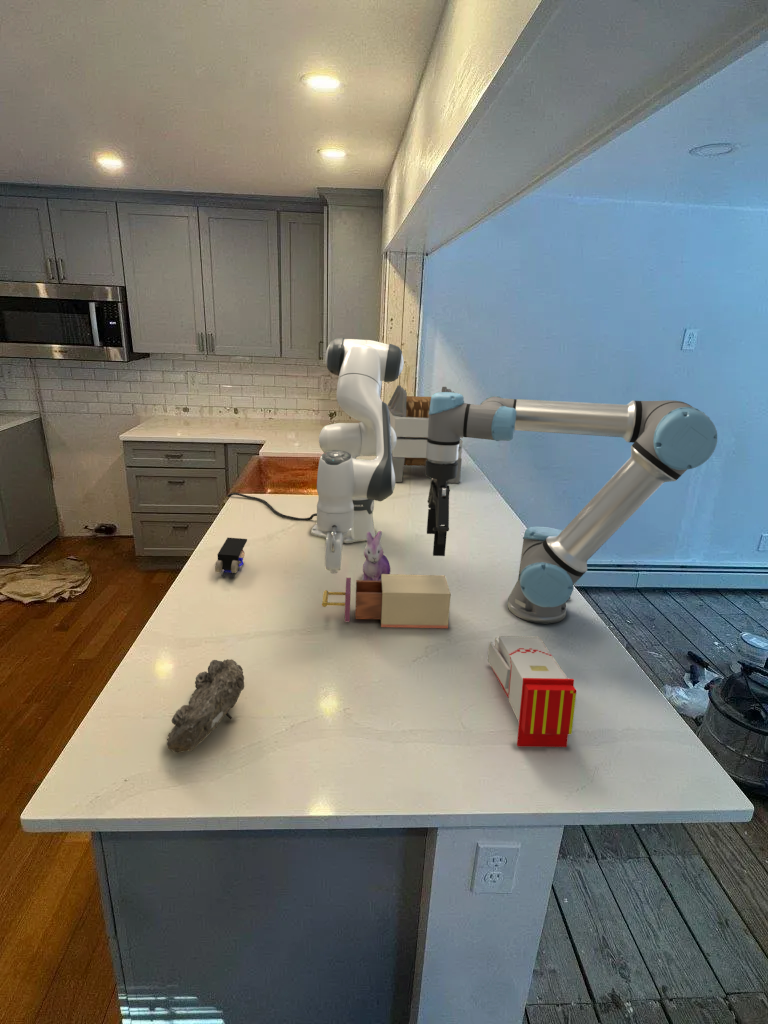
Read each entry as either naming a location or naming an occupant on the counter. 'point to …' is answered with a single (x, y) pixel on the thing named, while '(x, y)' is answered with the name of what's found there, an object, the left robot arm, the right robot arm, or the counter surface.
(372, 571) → the figurine
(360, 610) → the drawer
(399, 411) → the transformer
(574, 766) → the counter surface
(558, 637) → the counter surface
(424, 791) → the counter surface
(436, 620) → the beige drawer cabinet
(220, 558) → the figurine character
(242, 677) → the fossil
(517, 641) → the toy
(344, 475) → the left robot arm
